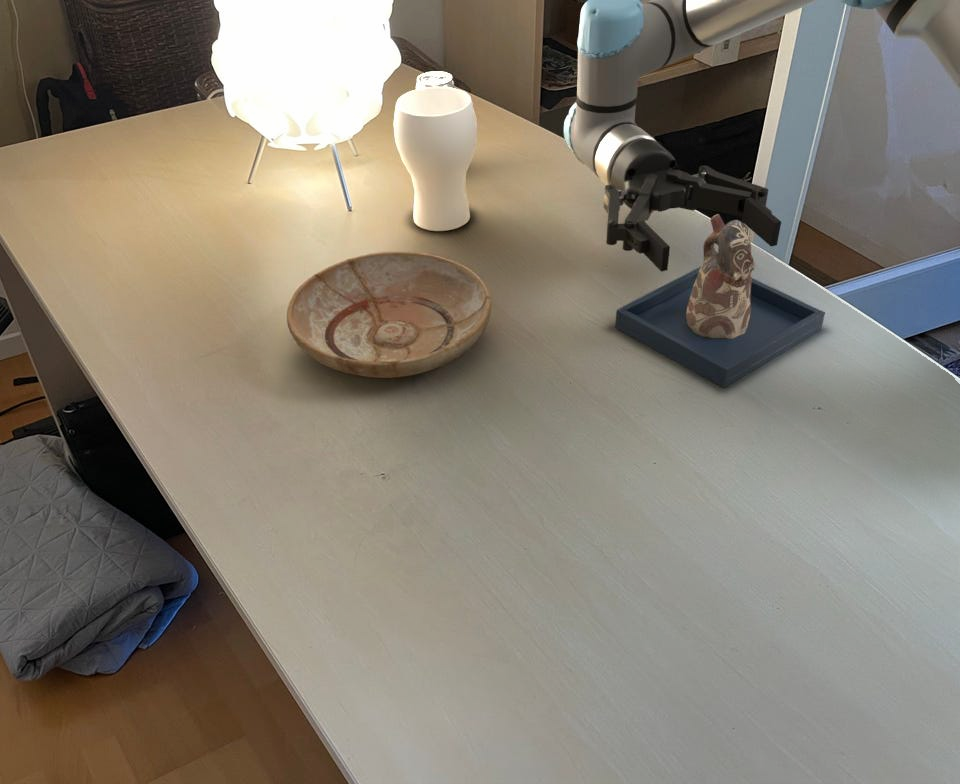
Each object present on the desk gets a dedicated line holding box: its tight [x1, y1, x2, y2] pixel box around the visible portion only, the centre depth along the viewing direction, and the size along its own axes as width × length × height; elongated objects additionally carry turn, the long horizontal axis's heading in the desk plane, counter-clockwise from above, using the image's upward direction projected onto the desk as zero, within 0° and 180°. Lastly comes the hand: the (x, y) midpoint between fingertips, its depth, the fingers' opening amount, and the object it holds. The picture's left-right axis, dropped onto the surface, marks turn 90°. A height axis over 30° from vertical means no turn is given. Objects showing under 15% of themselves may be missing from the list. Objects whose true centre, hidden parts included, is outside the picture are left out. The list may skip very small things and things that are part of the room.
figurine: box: [686, 213, 757, 339], centre depth 110 cm, size 7×7×12 cm
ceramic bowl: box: [286, 251, 492, 379], centre depth 114 cm, size 23×24×5 cm
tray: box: [614, 265, 826, 389], centre depth 114 cm, size 17×17×2 cm
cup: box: [393, 87, 478, 232], centre depth 130 cm, size 11×11×15 cm
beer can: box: [415, 70, 455, 90], centre depth 142 cm, size 5×5×12 cm
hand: (721, 246), depth 109 cm, fingers open, 13 cm apart
